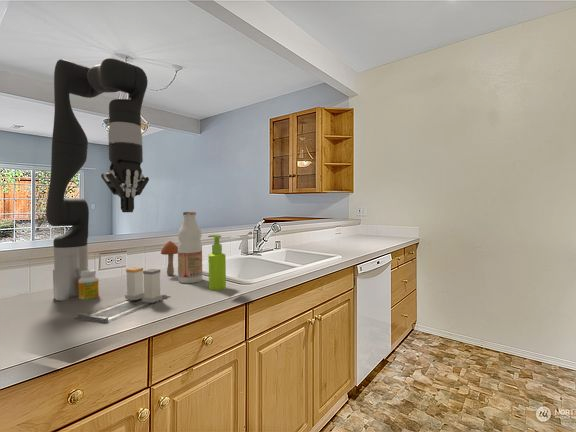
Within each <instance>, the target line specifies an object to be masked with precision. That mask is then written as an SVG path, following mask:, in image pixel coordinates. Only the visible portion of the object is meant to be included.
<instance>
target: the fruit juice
mask: <svg viewBox="0 0 576 432" xmlns="http://www.w3.org/2000/svg"><path fill="white" fill-rule="evenodd" d="M196 214H197V212H196V211H183V212H182V216H183V219H182V223H181V226H180V228H179V229H178V231H177V237H178V241H179V242H178V244H177V247H178V253H177V273H178V274H177V278H178V282H179V283H180V284H194V283H199V282H202V281H203V245H202V242H201V238H202V230H201V228H200V227H199V225H198V223H197V219H196Z"/></svg>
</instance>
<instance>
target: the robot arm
mask: <svg viewBox="0 0 576 432" xmlns="http://www.w3.org/2000/svg"><path fill="white" fill-rule="evenodd" d="M53 76H54V77H53V88H54V89H53V92H54V95H53V96H54V97H53V98H54V114H53V115H54V116H53V117H54V118H53V119H54V120H53V128H52V136H51V137H52V141H51V157H50V158H51V162H50V163H51V164H50V167H51V168H50V180H49V187H48V193H47V199H46V208H45V215H46V221H47V223H48V224H49V225H50V226H52V227H68V226H71V228H70V229H69V230H68V232H66V233H64V234H62V235H59V236H57V237H55V238H54V239H53V242H52V243H53V264H54V265H53V268H54V269H53V270H52V283H53V284H52V285H53V287H52V288H53V289H52V290H53V298H54V299H55V301H60V302H61V301H68V300H70V299H74V298H77V297H78V298H79V284H78V281H79V279H80V278H82V276H81V271H84V270H89V255H88V254H89V253H88V239H89V220H90V216H89V215H90V210H89V208H90V207H89V205H88V202H87V200H85V199H84V198H79V197H65V194H66V190H67V187H68V185H69V184H70V183H71V180H72V179H74V177H75V176H76V174H78V172H80V170H81V168H82V167H83V166H84V165H85V164H86V162H87V159H88V145H89V143H88V142H89V141H88V137H87V134H86V133H85V130H84V129H83V127H82V125H81V123H79V122H80V121H78V119H77V117H76V115H75V113H74V111H73V107H72V105H71V99H70V95H75V96H78V97H82V98H86V99H87V98H88V99H92V98H96V97H98V96H99V95H101V94H105V93H118V92H122V93H126V94H128V97H127V98H115V99H111V100H110V102H109V104H108V117H109V118H108V121H109V125H108V134H107V135H108V159H109V161H110V162H111V163H110V166H109V170H108V171H107V172H104V173H101V179H102V180H103V182H104V184H106V187H108V189H109V190H110V191H111V193H112V194H113V196H118V197H119V198H120V199H119V200H120V211H121V212H122V213H134V209H135V197H136V196H140V195H142V193H143V190H144V189H145V188H146V186H147V184H148V183H149V181H150V178H149V177H148V176H145V175H144V174H143V170H142V168H141V164H142V163H143V162H144V159H143V153H144V152H143V151H144V150H143V132H142V116H141V114H142V113H141V110H142V105H143V103H144V97H145V95H146V91H147V87H148V75H147V73H146V72H145V71H144V69H143V68H141V67H139V66H137V65H134V64H131V63H129V62H125V61H122V60H120V59H117V58H113V57H105V58H104V59H102V61H101V62H100V64H96V65H93V66H91V67H88V66H85V65H82V64H79V63H76V62H73V61H71V60H68V59H63V58H60V59H58V60H57V61H56V64H55V66H54V72H53Z"/></svg>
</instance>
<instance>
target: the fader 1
mask: <svg viewBox="0 0 576 432" xmlns="http://www.w3.org/2000/svg"><path fill="white" fill-rule="evenodd" d="M143 271H144V267H131V268H130V267H129V268H126V269H125V272H126V294H125V295H124V300H127V299H130V300H137V299H140V298H142V297H144V293H143V292H144V274H143Z"/></svg>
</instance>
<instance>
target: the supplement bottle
mask: <svg viewBox="0 0 576 432" xmlns="http://www.w3.org/2000/svg"><path fill="white" fill-rule="evenodd" d="M96 272H97V271H96V269H88V270H84V271H81V276H82V278H80V279H79V281H78V284H79V296H78V300H81V301H83V300H93V299H96V298H99V296H100V295H99V294H100V293H99V292H100V291H99V290H100V289H99V288H100V287H99V277H98V276H95V275H97V273H96Z"/></svg>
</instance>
